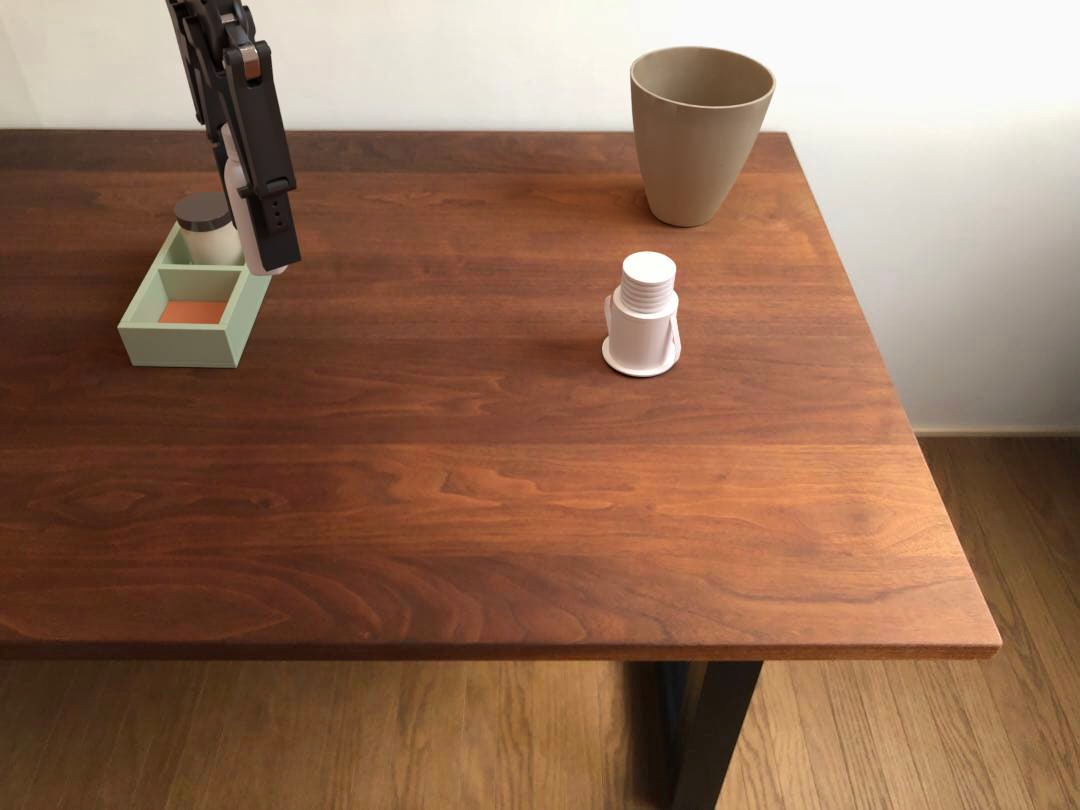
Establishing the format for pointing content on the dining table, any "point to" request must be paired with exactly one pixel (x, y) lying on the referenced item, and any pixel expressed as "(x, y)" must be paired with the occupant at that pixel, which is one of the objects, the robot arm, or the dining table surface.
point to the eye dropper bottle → (242, 208)
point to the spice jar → (209, 230)
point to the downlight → (643, 317)
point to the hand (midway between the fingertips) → (266, 242)
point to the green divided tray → (191, 311)
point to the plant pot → (695, 126)
